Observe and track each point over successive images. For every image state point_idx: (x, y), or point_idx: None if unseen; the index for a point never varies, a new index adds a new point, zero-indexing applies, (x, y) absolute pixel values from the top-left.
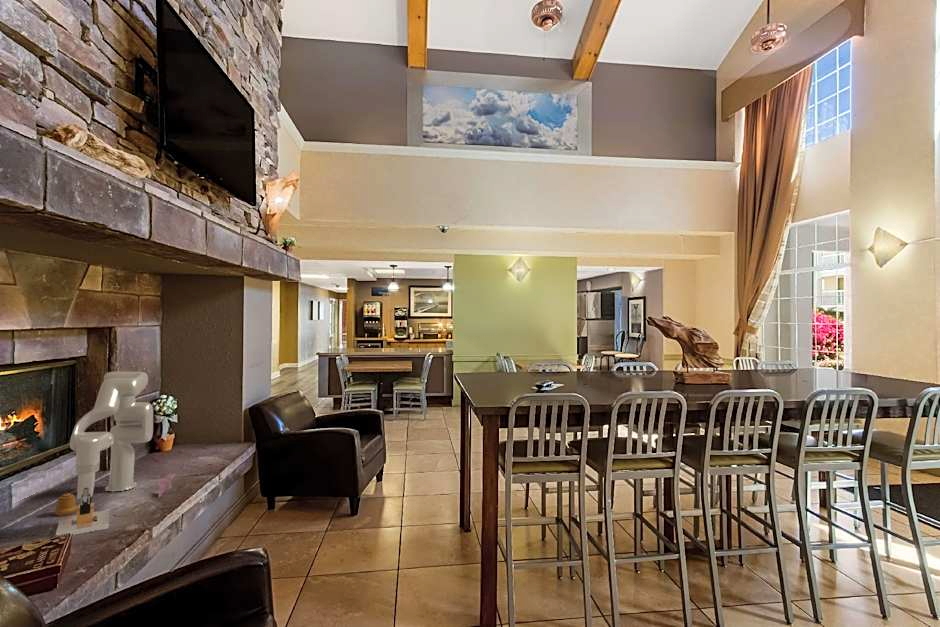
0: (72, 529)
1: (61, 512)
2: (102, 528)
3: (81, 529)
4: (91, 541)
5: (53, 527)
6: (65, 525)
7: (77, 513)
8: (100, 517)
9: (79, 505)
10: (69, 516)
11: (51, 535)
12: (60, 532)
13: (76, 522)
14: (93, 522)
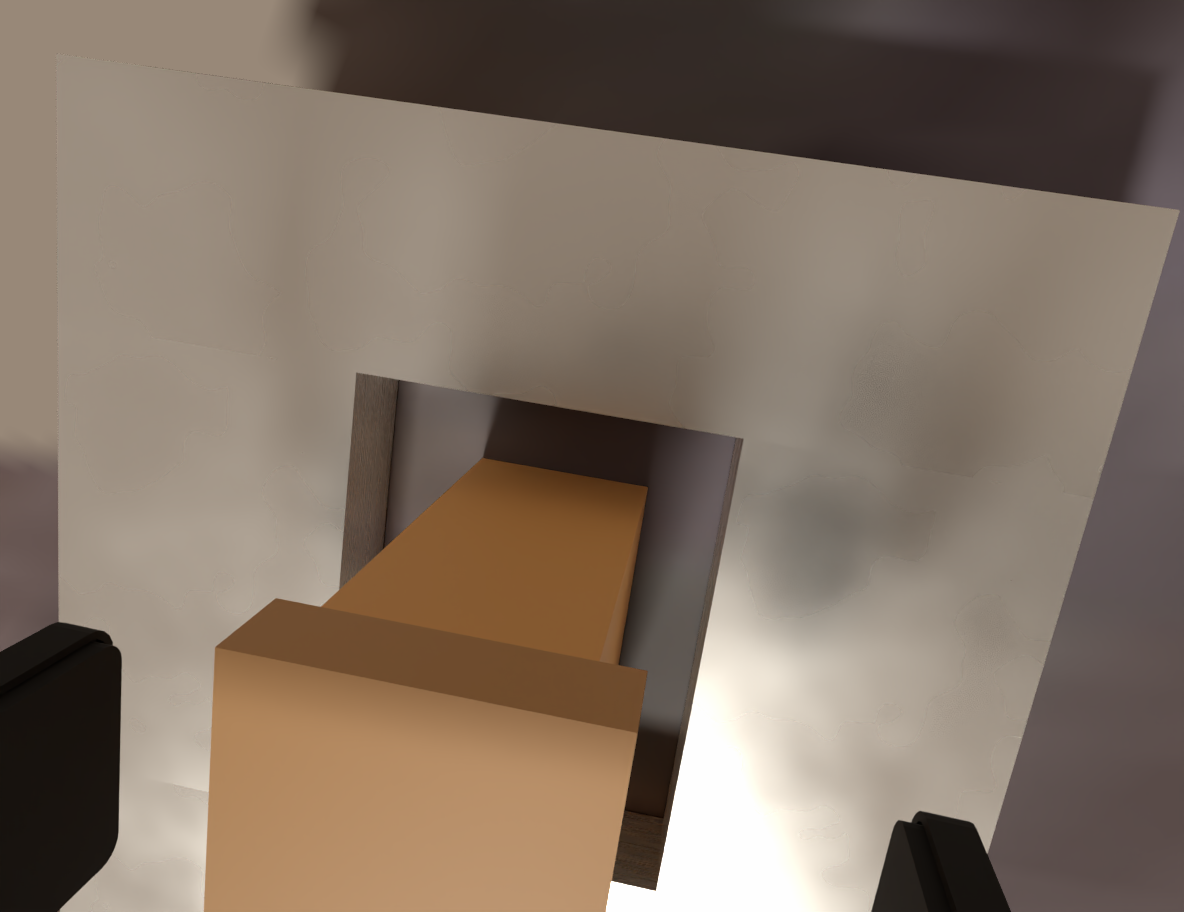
0: (87, 373)
1: None
2: None
3: (74, 519)
4: None
5: (875, 64)
6: (438, 272)
7: (357, 588)
8: None
9: (570, 771)
10: (1099, 417)
11: (357, 7)
12: (63, 145)
13: (444, 493)
14: None
